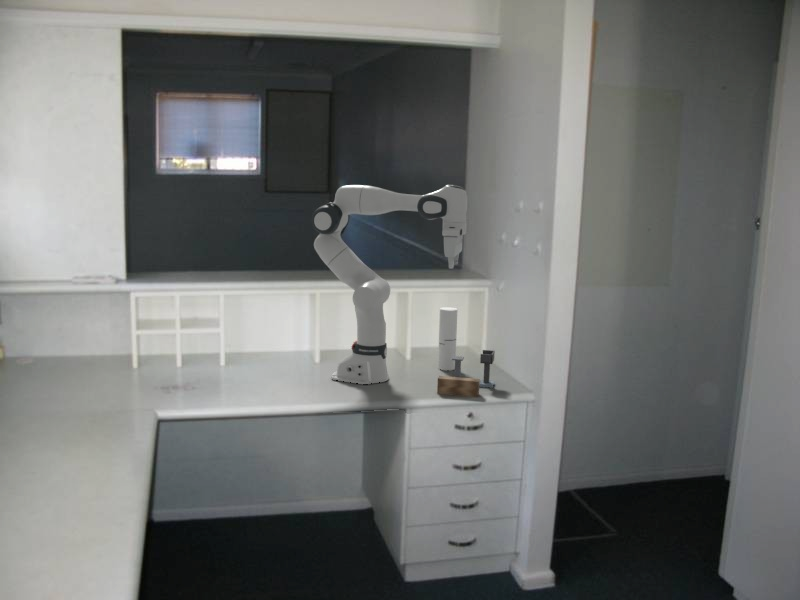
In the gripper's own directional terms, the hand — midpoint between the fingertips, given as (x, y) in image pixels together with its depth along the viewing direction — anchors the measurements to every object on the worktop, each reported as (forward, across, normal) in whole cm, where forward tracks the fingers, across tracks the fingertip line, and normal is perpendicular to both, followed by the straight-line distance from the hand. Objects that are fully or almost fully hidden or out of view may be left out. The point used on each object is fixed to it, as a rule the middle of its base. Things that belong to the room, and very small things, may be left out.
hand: (453, 266), depth 297 cm
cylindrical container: (+46, -25, -5) cm, 53 cm away
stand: (+46, -5, +7) cm, 47 cm away
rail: (+46, +9, +5) cm, 47 cm away
